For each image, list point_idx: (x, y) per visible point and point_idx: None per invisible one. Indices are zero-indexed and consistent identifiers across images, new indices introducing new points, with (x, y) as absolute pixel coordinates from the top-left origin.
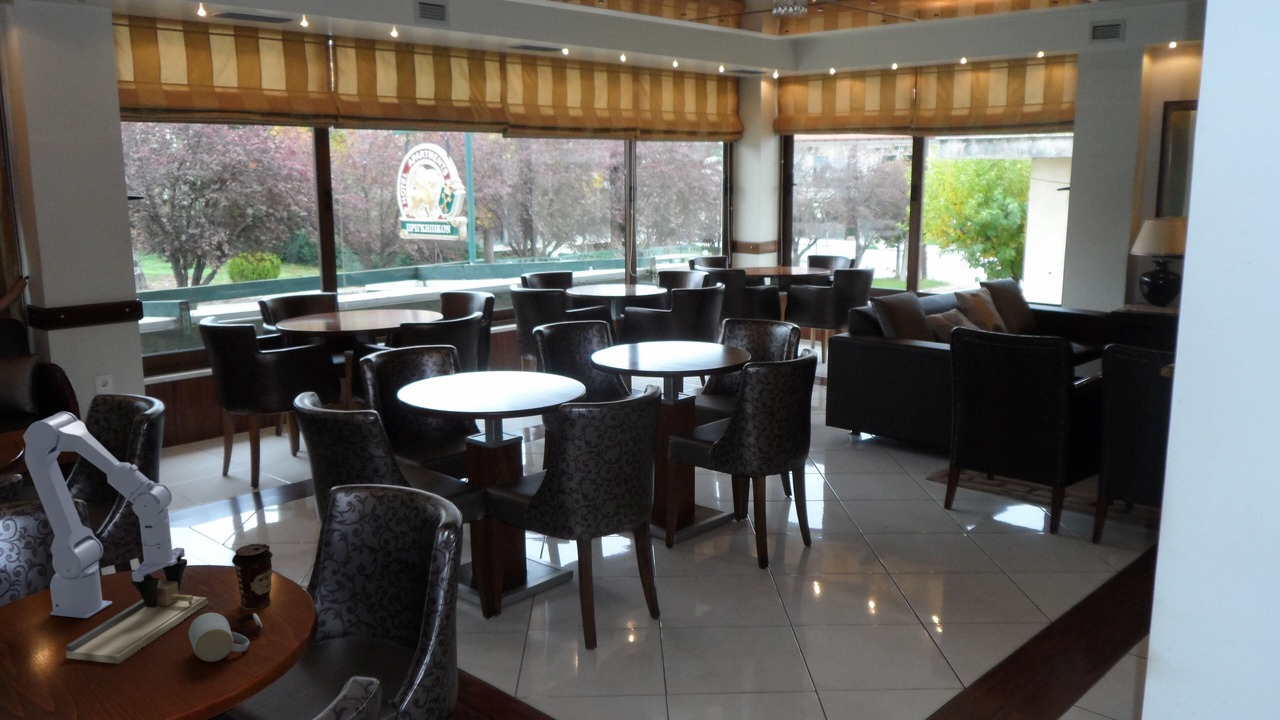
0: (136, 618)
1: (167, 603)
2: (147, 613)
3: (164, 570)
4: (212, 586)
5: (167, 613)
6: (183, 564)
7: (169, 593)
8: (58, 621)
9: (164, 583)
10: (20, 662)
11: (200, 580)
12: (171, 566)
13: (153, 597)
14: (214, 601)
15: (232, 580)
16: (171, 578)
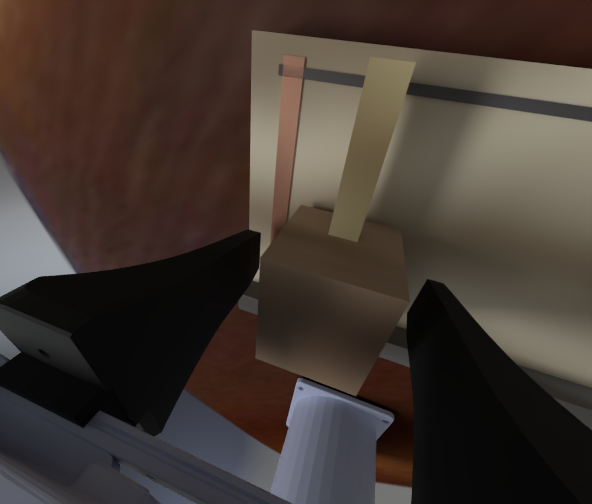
0: (515, 323)
1: (395, 235)
2: (456, 293)
3: (190, 371)
4: (117, 139)
5: (495, 194)
6: (74, 307)
7: (368, 256)
8: (396, 444)
9: (298, 324)
10: None
11: (109, 210)
12: (152, 371)
13: (484, 333)
14: (233, 11)
15: (40, 73)
16: (216, 303)
